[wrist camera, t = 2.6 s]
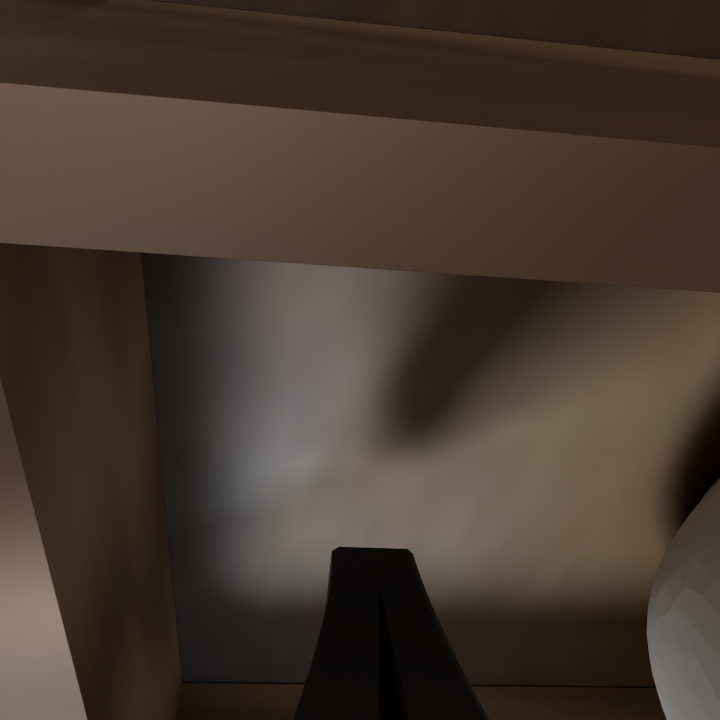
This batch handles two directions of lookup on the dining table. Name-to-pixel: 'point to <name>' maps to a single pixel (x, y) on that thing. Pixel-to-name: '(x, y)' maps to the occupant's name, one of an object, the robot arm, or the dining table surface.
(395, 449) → the dining table surface
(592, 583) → the dining table surface
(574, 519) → the dining table surface
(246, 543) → the dining table surface
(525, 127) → the open wooden tray
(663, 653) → the teacup
